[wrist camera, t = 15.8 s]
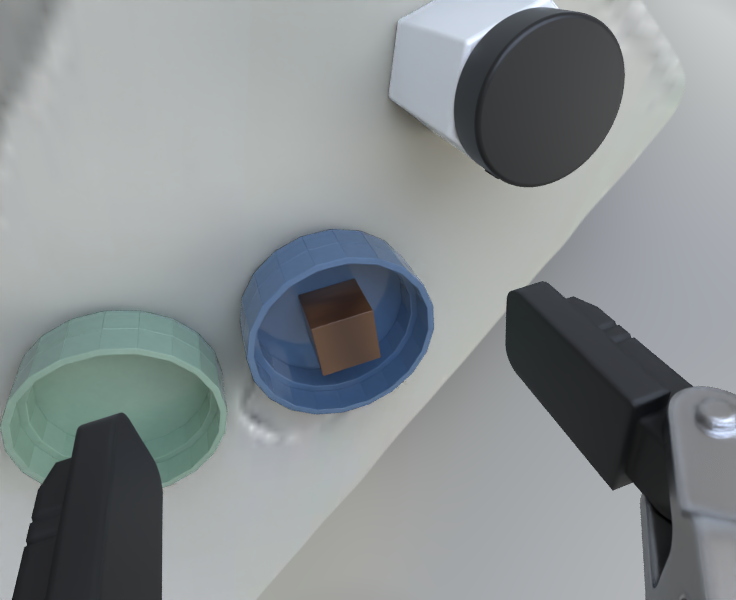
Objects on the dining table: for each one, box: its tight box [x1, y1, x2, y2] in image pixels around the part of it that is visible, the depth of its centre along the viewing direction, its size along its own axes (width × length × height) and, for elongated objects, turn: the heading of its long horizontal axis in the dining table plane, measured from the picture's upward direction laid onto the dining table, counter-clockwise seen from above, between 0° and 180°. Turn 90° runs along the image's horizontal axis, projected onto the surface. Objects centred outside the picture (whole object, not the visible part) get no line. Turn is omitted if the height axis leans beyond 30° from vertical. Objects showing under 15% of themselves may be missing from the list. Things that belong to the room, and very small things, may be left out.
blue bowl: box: [240, 229, 434, 414], centre depth 40 cm, size 14×14×5 cm
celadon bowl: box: [0, 311, 227, 488], centre depth 38 cm, size 14×14×5 cm
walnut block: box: [298, 279, 381, 376], centre depth 40 cm, size 5×5×5 cm
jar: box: [389, 0, 625, 187], centre depth 30 cm, size 9×8×12 cm
